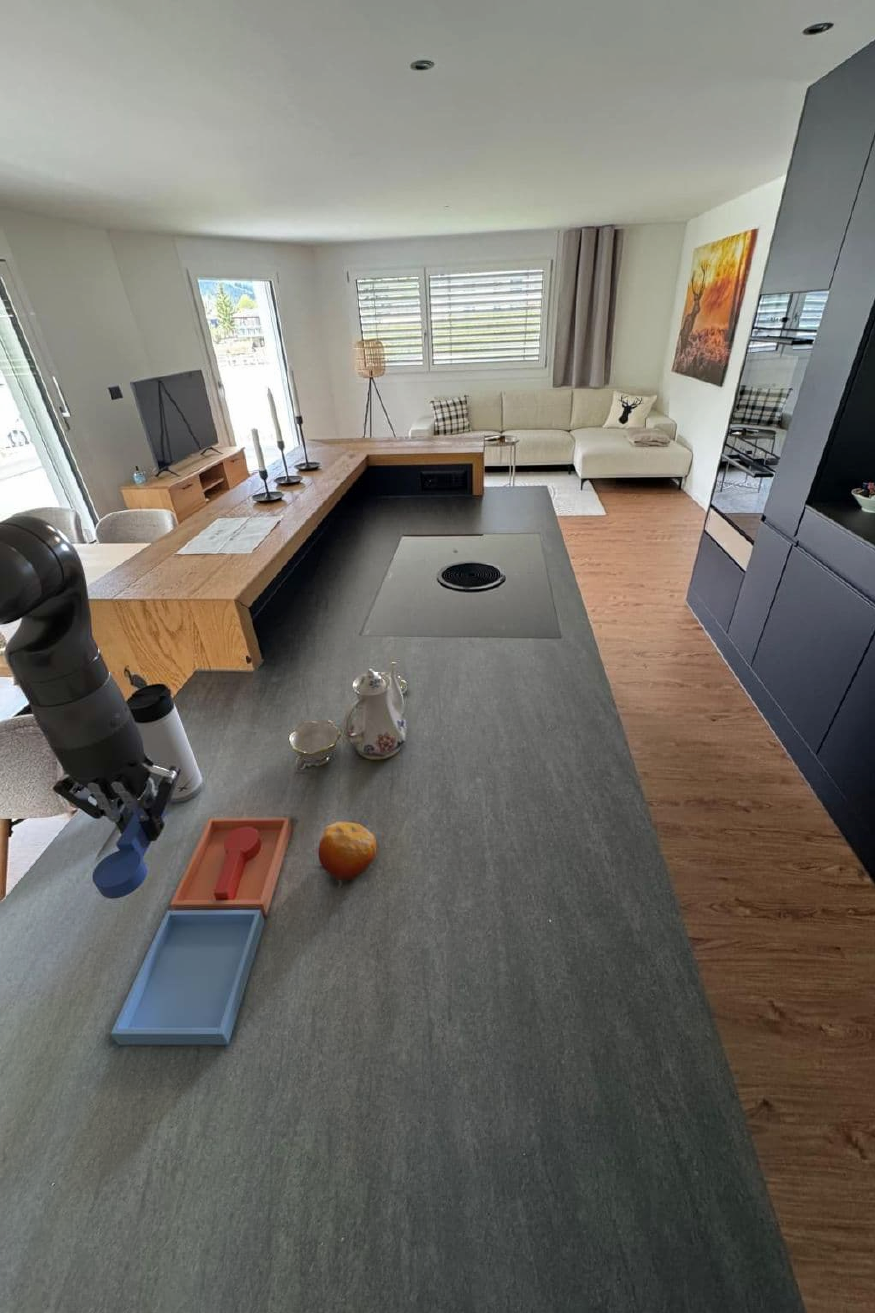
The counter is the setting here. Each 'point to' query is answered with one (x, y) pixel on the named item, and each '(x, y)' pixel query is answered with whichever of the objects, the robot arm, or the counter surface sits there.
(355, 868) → the fruit
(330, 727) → the chinaware
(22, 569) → the robot arm
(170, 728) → the travel mug
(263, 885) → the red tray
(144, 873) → the blue spoon
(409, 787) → the counter surface
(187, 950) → the blue tray
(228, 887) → the red spoon
